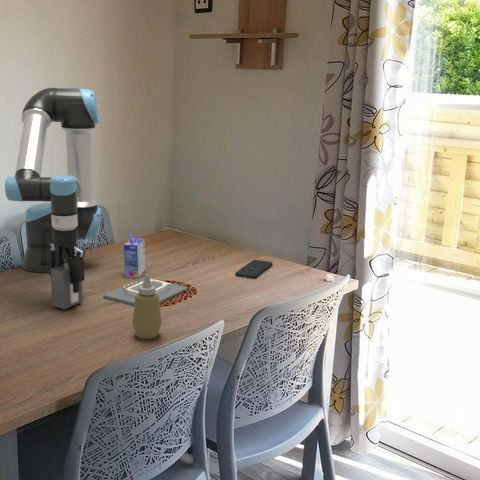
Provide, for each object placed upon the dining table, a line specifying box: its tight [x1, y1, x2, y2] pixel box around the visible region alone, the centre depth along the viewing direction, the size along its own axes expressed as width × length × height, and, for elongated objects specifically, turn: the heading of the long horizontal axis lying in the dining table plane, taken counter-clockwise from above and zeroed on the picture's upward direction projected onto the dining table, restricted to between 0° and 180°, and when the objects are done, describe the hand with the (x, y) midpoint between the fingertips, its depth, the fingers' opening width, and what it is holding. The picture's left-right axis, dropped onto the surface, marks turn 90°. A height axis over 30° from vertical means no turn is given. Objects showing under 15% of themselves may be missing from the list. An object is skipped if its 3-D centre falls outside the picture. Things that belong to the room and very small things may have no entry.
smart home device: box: [234, 259, 273, 280], centre depth 241 cm, size 8×2×20 cm
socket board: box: [103, 278, 189, 307], centre depth 212 cm, size 18×22×2 cm
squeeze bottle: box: [132, 273, 163, 340], centre depth 177 cm, size 8×8×18 cm
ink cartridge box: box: [123, 233, 146, 279], centre depth 231 cm, size 10×6×14 cm, turn 174°
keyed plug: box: [50, 262, 84, 310], centre depth 198 cm, size 5×9×12 cm, turn 150°
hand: (67, 299), depth 198 cm, fingers closed on keyed plug, 5 cm apart
